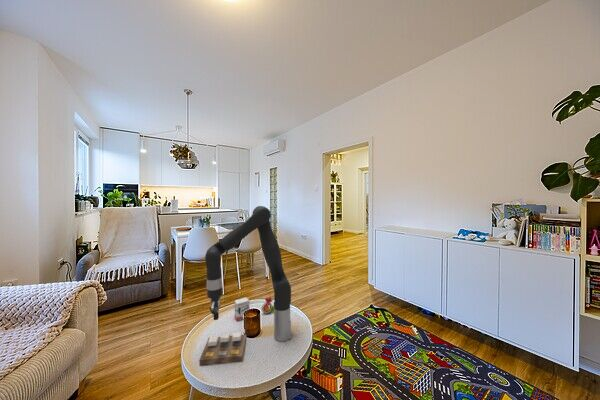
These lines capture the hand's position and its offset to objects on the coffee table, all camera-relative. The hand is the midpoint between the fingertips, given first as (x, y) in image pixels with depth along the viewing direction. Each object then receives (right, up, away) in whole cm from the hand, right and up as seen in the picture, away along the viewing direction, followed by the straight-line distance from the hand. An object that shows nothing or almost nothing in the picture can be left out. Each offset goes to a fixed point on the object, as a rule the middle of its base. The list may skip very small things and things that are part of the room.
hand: (216, 319), depth 117 cm
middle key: (+4, -11, +1) cm, 12 cm away
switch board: (+5, -17, -1) cm, 17 cm away
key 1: (-2, -13, 0) cm, 13 cm away
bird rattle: (+22, -15, +35) cm, 44 cm away
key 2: (+10, -11, +2) cm, 15 cm away
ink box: (+6, -15, +30) cm, 34 cm away
